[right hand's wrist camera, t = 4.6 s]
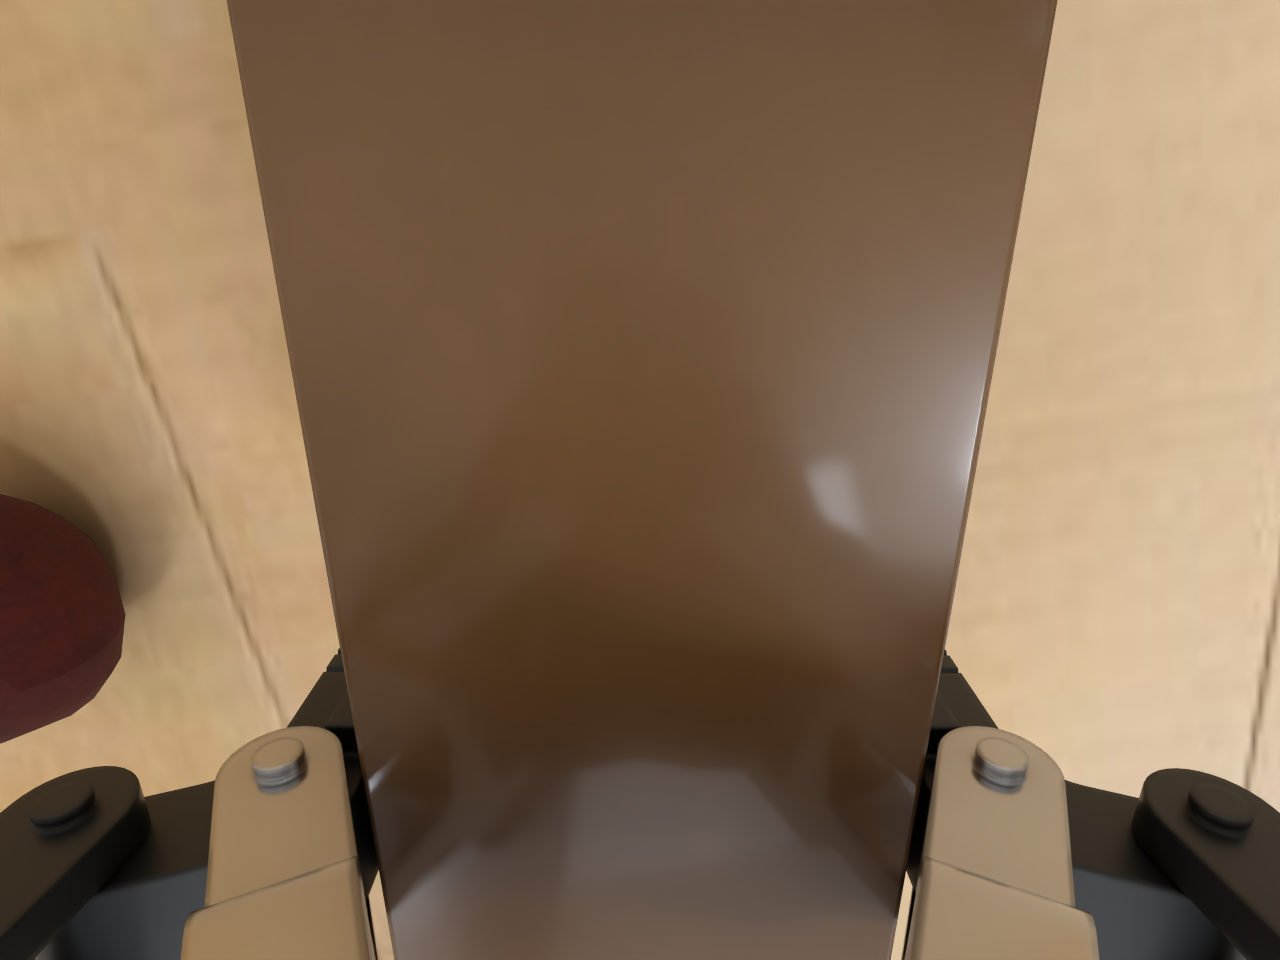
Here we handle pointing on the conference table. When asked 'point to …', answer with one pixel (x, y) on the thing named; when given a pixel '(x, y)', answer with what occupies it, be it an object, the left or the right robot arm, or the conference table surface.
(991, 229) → the bar
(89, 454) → the conference table surface
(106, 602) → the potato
